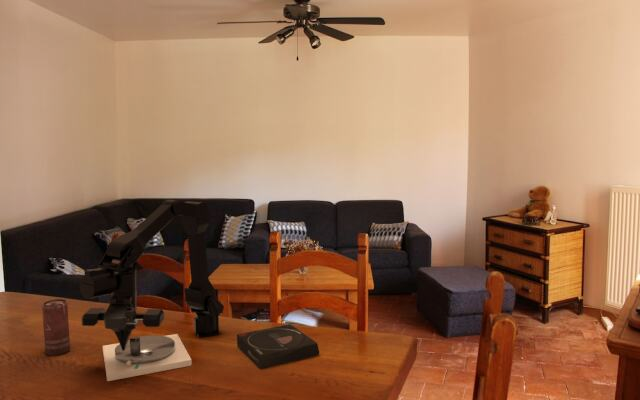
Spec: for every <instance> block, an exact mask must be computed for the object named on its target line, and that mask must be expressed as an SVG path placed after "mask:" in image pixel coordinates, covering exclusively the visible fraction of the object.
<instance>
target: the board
mask: <svg viewBox="0 0 640 400" xmlns="http://www.w3.org/2000/svg"><path fill="white" fill-rule="evenodd" d="M165 336H166V337H169V338H171V339H173V340H174V342H175V350H174V352H173V353H172V354H170V355H169V356H167V357H165V358H163V359H160V360H157V361H153V362H148V363H139V364H131V365H126V363H124V362H121V361H118V360H117V359H116V358H115V348H116V347H117V346H118V345H119V344H120V343H119V342H117V343H112V344H108V345H106V344H105V345H102V354H103V361H104V367H105V368H104V369H105V373H106V374H105V375H106V381H107V382H111V381H118V380H120V379H128V378H133V377H137V376H142V375H147V374H148V375H149V374H154V373H159V372H164V371H170V370H174V369H179V368H181V369H182V368H184V367H192V363H193V362H192V358H191V356H190V354H189V353H188V351H187V349H186V347H185V345H184V343H183V342H182V340H181V338H180V336H179V334H178V333H173V334H168V335H165Z"/></svg>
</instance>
